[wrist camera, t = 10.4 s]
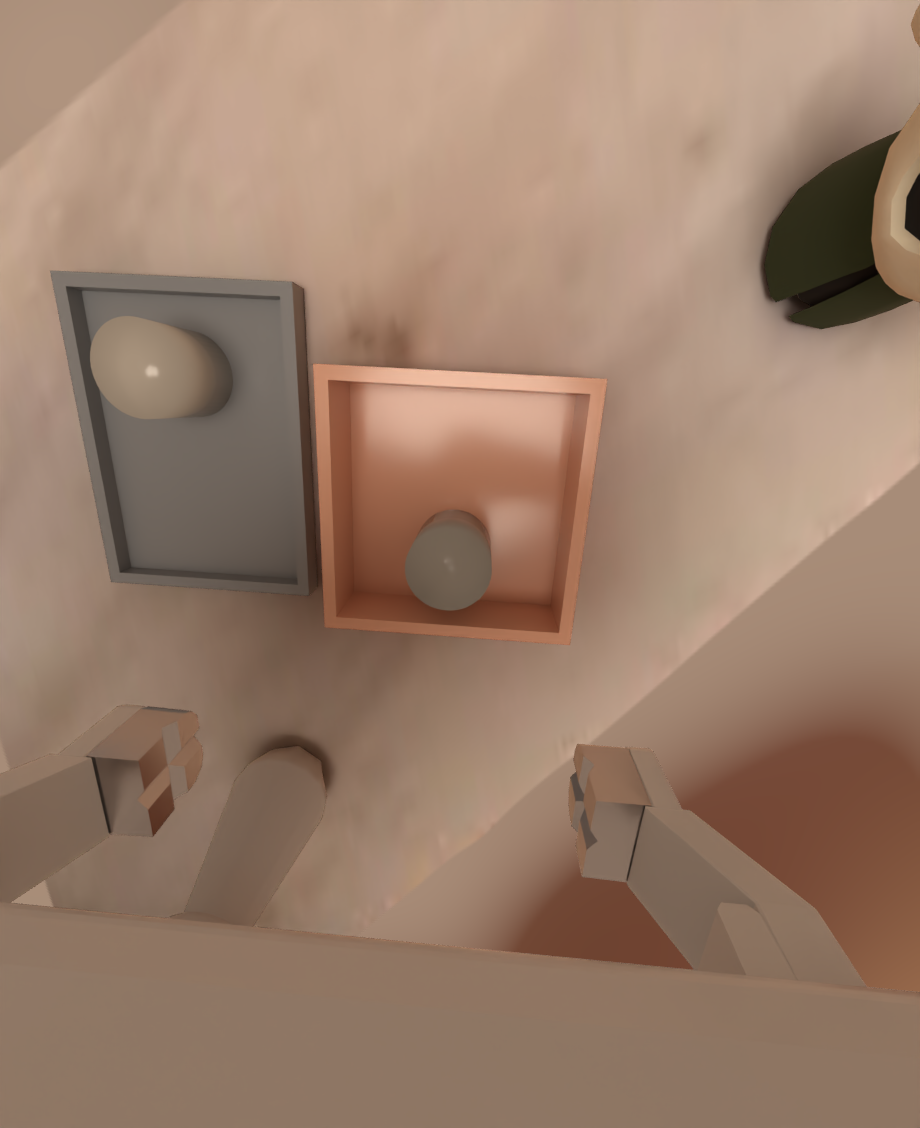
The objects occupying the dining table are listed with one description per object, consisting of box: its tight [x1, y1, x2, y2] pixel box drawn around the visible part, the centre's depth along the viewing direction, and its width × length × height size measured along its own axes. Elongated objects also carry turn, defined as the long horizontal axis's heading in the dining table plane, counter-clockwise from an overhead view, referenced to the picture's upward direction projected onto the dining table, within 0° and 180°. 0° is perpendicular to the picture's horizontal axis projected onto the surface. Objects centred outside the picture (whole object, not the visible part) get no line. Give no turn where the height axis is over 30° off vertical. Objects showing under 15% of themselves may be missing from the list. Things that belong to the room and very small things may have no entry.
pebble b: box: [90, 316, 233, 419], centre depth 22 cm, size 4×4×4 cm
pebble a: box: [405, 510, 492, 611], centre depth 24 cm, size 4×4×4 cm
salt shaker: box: [170, 746, 327, 927], centre depth 26 cm, size 6×6×13 cm
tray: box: [50, 271, 318, 596], centre depth 25 cm, size 15×11×1 cm
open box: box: [313, 364, 607, 645], centre depth 24 cm, size 12×12×4 cm
